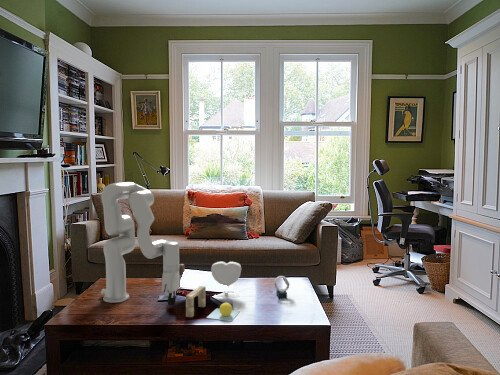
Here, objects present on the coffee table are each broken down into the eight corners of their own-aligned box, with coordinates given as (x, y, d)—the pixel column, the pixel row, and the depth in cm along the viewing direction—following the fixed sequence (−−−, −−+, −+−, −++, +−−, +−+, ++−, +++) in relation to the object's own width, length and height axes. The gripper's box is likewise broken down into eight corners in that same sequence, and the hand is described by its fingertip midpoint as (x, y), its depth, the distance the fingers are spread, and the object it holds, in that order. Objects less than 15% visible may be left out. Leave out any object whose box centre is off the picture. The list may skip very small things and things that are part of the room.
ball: (231, 313, 180) (222, 320, 181) (236, 309, 185) (227, 316, 187) (223, 302, 181) (214, 309, 182) (229, 298, 186) (220, 305, 188)
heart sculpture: (211, 297, 208) (210, 263, 207) (212, 294, 213) (212, 261, 212) (240, 297, 208) (240, 263, 207) (241, 294, 213) (241, 261, 212)
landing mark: (206, 318, 181) (206, 317, 181) (216, 308, 193) (216, 308, 193) (231, 321, 178) (231, 321, 178) (240, 311, 189) (240, 311, 189)
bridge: (186, 316, 183) (185, 295, 182) (200, 305, 197) (199, 285, 196) (191, 317, 182) (191, 296, 181) (205, 305, 196) (205, 286, 196)
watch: (290, 298, 207) (290, 277, 207) (275, 299, 206) (275, 278, 205) (287, 294, 213) (288, 274, 212) (273, 295, 212) (273, 275, 211)
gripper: (172, 263, 200) (172, 298, 202) (156, 271, 186) (156, 309, 188) (185, 264, 198) (185, 300, 199) (170, 272, 184) (170, 311, 185)
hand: (171, 304), depth 193 cm, fingers closed
